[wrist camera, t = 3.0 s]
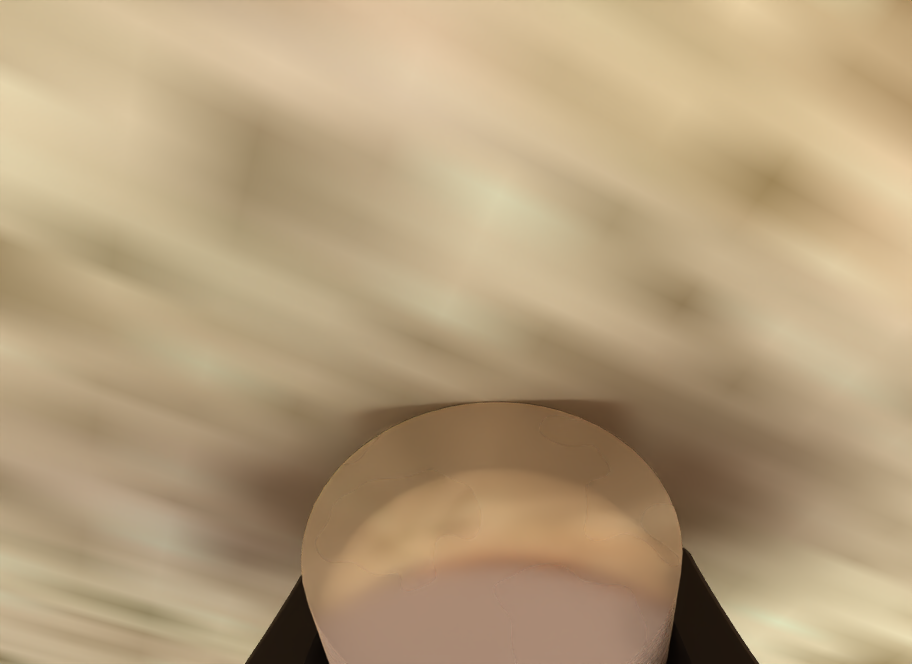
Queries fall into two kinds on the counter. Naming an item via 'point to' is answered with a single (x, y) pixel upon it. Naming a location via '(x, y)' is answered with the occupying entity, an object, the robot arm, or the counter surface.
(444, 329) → the counter surface
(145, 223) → the counter surface
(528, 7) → the counter surface
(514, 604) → the tube
